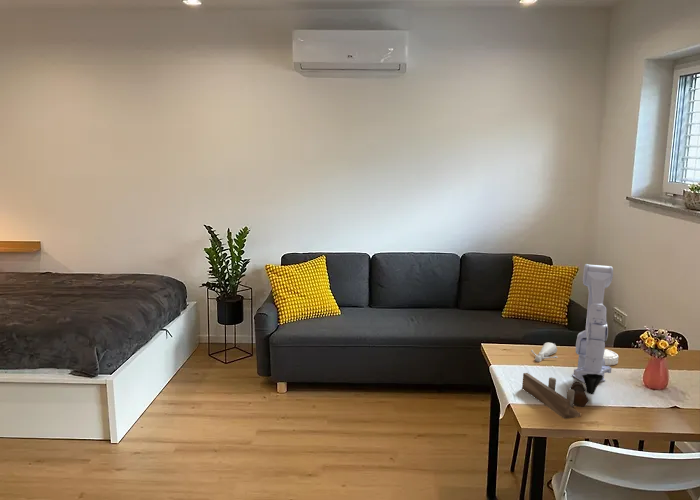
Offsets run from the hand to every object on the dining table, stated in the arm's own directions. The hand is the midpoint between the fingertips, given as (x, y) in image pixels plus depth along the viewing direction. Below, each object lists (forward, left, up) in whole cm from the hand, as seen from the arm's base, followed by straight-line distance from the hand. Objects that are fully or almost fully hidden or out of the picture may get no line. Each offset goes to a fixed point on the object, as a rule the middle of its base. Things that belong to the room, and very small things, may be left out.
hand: (590, 393), depth 212 cm
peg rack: (+16, 0, -1) cm, 16 cm away
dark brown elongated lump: (+4, -1, -2) cm, 5 cm away
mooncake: (-30, -29, -2) cm, 42 cm away
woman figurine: (-9, -39, -2) cm, 40 cm away
